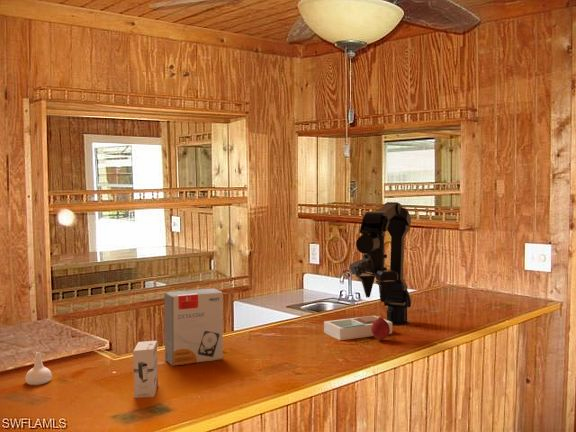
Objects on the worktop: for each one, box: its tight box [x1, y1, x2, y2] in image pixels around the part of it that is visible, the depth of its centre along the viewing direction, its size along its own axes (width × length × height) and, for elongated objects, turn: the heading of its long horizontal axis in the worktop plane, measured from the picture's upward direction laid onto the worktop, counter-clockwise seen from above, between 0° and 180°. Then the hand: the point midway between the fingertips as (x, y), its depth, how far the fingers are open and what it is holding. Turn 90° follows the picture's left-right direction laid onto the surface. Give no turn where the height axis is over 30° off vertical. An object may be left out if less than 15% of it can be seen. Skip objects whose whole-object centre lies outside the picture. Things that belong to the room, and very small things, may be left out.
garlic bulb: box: [24, 351, 52, 386], centre depth 159 cm, size 6×6×8 cm
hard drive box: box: [163, 287, 224, 367], centre depth 177 cm, size 16×8×20 cm, turn 117°
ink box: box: [132, 340, 159, 399], centre depth 151 cm, size 9×5×12 cm, turn 5°
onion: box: [371, 315, 390, 342], centre depth 196 cm, size 6×6×8 cm
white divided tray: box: [323, 315, 393, 341], centre depth 206 cm, size 20×11×4 cm, turn 114°
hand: (374, 299), depth 196 cm, fingers open, 9 cm apart
